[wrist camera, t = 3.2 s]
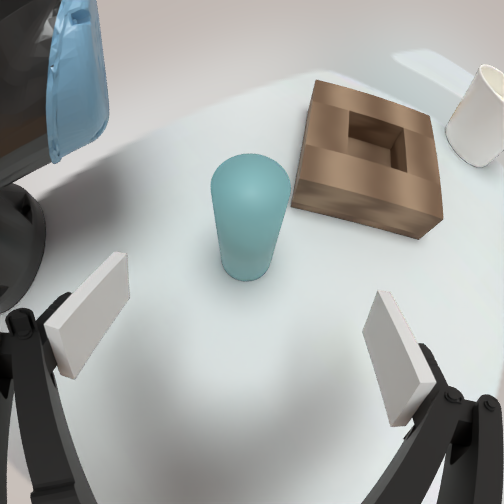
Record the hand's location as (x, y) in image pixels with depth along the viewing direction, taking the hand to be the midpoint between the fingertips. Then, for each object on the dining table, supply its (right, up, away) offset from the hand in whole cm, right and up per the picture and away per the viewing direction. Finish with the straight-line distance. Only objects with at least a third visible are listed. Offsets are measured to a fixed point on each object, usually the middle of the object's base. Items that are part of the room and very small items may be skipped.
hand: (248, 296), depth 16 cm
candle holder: (+31, +18, +20) cm, 41 cm away
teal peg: (0, +2, +13) cm, 13 cm away
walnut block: (+12, +11, +17) cm, 24 cm away
